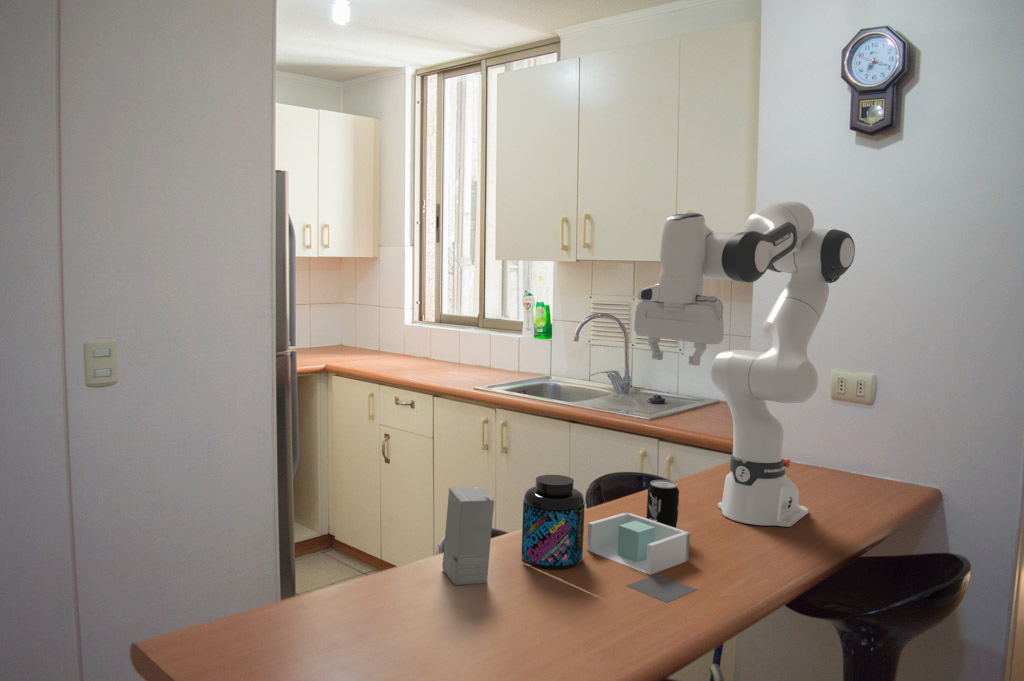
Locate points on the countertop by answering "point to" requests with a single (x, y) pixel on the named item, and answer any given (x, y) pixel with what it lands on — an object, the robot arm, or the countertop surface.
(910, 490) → the countertop surface
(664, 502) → the beverage can
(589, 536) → the bin
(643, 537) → the block
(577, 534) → the container
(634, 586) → the mat
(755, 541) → the countertop surface
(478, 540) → the skincare box
